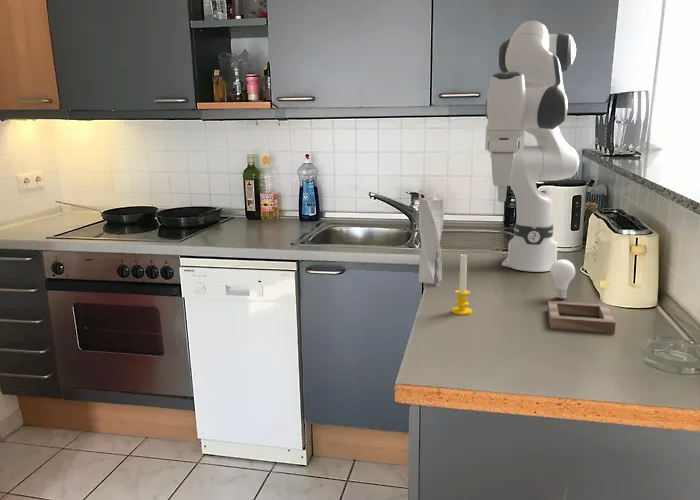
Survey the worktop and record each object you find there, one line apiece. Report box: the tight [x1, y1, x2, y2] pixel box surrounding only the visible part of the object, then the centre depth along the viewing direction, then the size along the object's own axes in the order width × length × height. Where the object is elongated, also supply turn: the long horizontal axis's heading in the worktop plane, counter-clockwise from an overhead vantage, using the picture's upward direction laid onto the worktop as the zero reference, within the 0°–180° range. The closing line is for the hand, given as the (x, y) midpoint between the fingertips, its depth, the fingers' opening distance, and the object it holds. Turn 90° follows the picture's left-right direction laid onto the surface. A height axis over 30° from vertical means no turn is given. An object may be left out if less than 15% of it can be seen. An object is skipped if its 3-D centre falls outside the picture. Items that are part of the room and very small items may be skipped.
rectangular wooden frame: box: [547, 300, 616, 334], centre depth 146 cm, size 14×14×2 cm
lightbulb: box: [549, 259, 576, 300], centre depth 162 cm, size 6×6×11 cm
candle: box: [451, 253, 473, 316], centre depth 152 cm, size 5×5×16 cm
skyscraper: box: [418, 190, 445, 287], centre depth 177 cm, size 8×8×28 cm
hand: (502, 200), depth 145 cm, fingers closed
